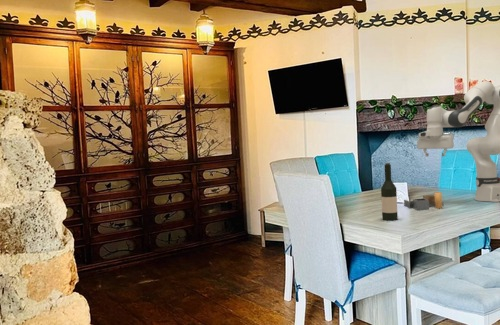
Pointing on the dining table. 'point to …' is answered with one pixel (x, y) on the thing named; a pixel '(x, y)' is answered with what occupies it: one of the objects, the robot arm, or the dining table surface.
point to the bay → (410, 204)
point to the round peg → (438, 200)
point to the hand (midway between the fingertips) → (435, 156)
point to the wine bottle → (389, 197)
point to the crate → (429, 198)
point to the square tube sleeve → (420, 204)
